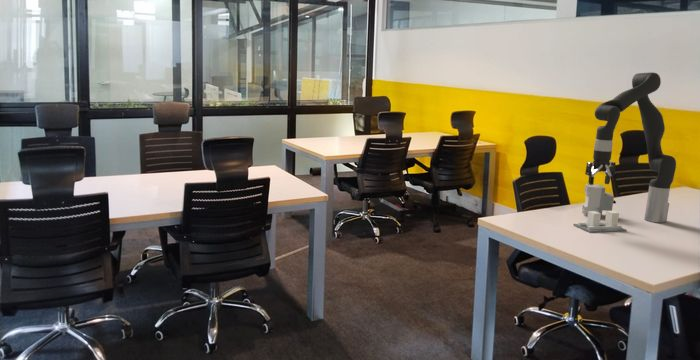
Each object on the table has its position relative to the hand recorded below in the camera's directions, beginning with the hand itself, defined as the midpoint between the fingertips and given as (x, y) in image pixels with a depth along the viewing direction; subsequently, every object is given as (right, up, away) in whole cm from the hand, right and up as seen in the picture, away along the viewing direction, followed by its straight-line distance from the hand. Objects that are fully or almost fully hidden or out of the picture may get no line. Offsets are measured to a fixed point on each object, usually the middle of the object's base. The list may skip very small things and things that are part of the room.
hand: (598, 184), depth 281 cm
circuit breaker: (+11, -16, +29) cm, 35 cm away
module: (-2, -20, +2) cm, 20 cm away
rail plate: (+2, -21, +3) cm, 21 cm away
